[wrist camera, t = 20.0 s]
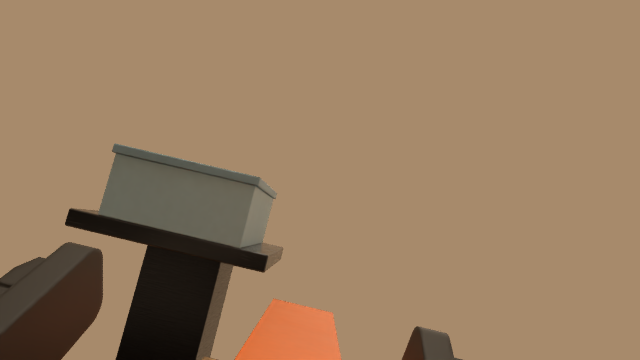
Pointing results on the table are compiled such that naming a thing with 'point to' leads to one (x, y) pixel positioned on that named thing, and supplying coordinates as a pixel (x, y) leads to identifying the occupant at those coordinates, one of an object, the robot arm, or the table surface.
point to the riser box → (207, 359)
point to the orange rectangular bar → (292, 335)
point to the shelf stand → (175, 287)
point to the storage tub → (187, 198)
